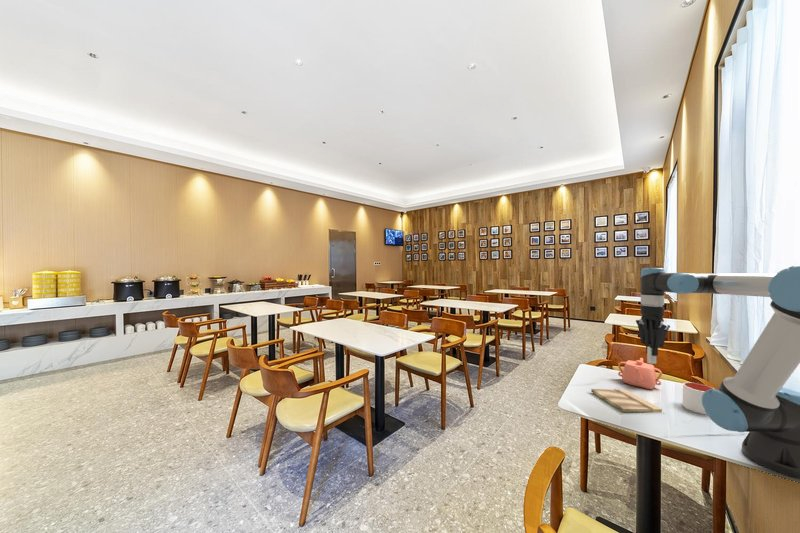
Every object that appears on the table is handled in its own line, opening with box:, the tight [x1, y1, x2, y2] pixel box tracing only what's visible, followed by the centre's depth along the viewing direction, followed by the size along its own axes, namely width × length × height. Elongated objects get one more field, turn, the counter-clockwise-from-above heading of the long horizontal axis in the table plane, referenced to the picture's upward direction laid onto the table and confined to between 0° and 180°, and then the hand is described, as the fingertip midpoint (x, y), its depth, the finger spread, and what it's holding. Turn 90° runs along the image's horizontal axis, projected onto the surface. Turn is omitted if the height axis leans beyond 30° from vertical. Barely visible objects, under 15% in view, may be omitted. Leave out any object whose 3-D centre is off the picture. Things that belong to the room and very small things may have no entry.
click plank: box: [590, 388, 652, 412], centre depth 130 cm, size 18×12×1 cm, turn 5°
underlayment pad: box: [585, 389, 666, 416], centre depth 130 cm, size 20×19×2 cm
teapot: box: [617, 357, 663, 390], centre depth 149 cm, size 15×17×13 cm
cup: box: [681, 381, 715, 415], centre depth 125 cm, size 10×10×10 cm
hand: (651, 362), depth 124 cm, fingers closed
